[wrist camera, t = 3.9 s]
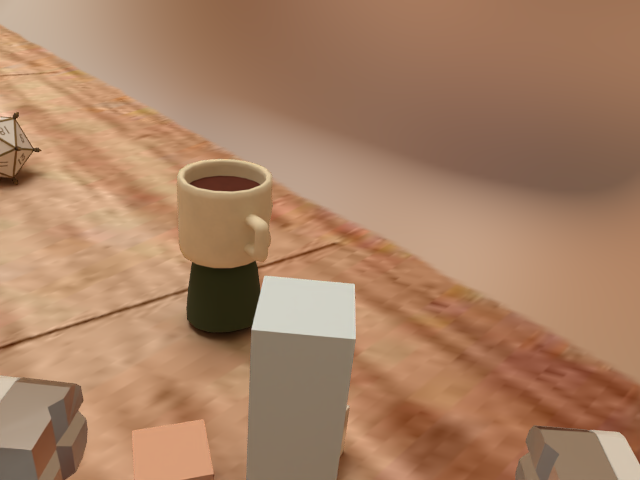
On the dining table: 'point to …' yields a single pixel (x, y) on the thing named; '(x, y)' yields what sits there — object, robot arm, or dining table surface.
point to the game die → (13, 147)
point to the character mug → (224, 239)
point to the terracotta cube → (172, 452)
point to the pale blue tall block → (299, 378)
